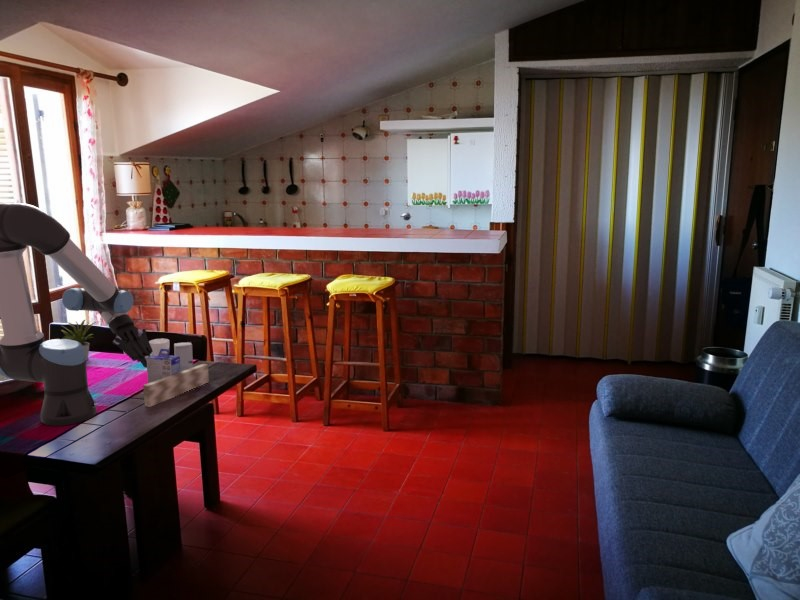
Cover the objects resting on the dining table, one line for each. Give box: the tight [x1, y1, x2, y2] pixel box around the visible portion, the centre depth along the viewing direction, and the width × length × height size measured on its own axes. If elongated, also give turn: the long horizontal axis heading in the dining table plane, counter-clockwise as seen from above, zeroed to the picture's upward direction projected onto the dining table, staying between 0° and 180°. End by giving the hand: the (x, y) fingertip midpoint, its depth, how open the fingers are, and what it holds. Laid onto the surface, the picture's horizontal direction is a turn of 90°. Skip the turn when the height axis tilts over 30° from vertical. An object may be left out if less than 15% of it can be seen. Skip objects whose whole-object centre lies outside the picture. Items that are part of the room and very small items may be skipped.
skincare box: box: [173, 341, 194, 372], centre depth 224 cm, size 6×4×12 cm
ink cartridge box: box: [146, 348, 181, 384], centre depth 208 cm, size 10×6×14 cm, turn 77°
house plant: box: [60, 319, 101, 360], centre depth 243 cm, size 14×14×16 cm
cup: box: [148, 338, 170, 356], centre depth 247 cm, size 8×10×7 cm
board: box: [142, 363, 210, 408], centre depth 206 cm, size 26×2×7 cm, turn 152°
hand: (155, 372), depth 212 cm, fingers closed
